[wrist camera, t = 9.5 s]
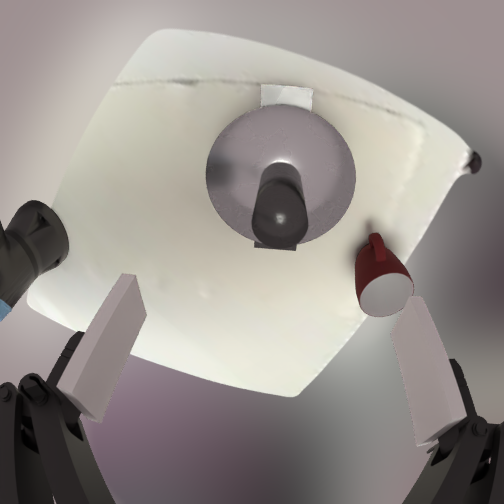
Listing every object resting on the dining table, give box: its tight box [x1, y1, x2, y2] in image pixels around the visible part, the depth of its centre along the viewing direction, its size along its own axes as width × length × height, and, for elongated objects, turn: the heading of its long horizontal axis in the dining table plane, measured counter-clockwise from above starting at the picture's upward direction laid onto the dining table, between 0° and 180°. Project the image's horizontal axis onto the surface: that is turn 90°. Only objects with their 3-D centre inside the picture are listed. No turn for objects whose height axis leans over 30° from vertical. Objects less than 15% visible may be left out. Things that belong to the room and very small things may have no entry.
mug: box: [355, 233, 414, 317], centre depth 38 cm, size 11×8×10 cm
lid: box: [206, 105, 356, 249], centre depth 25 cm, size 15×15×12 cm
